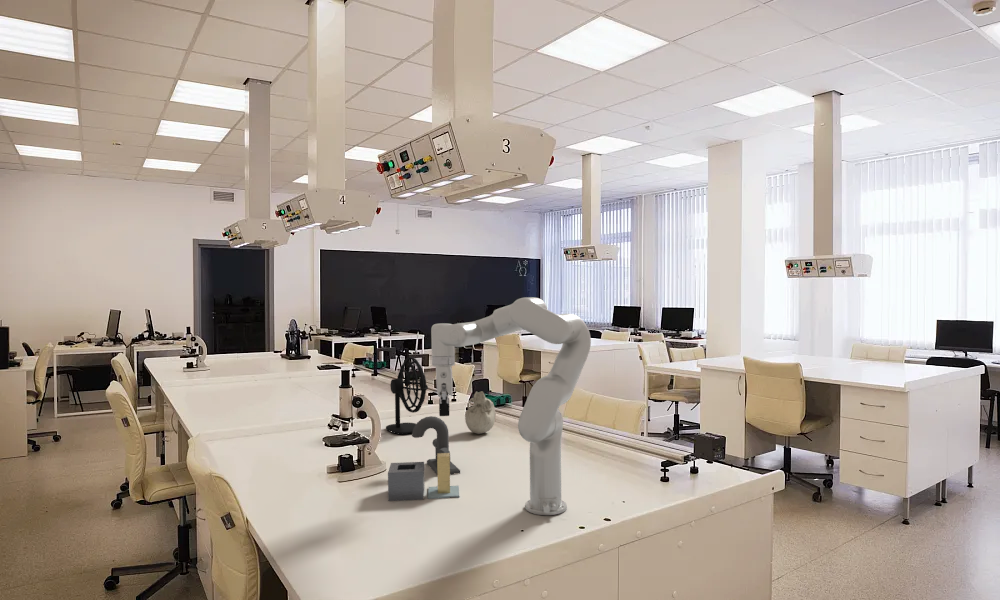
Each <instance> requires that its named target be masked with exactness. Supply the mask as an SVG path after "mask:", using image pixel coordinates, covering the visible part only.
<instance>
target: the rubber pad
mask: <svg viewBox="0 0 1000 600" xmlns="http://www.w3.org/2000/svg"><path fill="white" fill-rule="evenodd" d="M427 492H428V493H427V499H428V500H430V499H432V500H433V499H450V497H457V498H460V485H450V493H438V485H437V486H428V491H427Z"/></svg>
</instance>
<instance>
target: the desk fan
mask: <svg viewBox="0 0 1000 600" xmlns="http://www.w3.org/2000/svg"><path fill="white" fill-rule="evenodd" d="M410 360H412V361H411V362H410ZM413 364H415V365H416V366H417V368H415V367H414V365H413ZM406 365H408V366H407V369H406V370H405V368H406ZM410 369H411V370H412V379H410V376H409V373H410ZM417 371H418V373H419V376H420V378H419V380H418V375H417ZM404 373H405V380H404ZM411 380H412V381H411ZM404 384H405V386H404ZM411 385H412V387H411ZM389 386H390V391H391V394H394V401H395V402H394V404H395V405H394V407H395V408H394V412H395V417H394V418H395V420H394V421H395V423H392V424H388V425H386V426H385V430H386V429H388V430H390V431H392V432H395V433H399V434H398V435H408V434H407V433H412V432H413V429H414V427H415V425H416V424H417V422H416V423H415V422H401V401H402V404H403V406H404V408H405V409H406V411H408V412H409V413H418V412H419V411H420V410H421V408H422V406H423V404H424V403H425V402H424V401H425V399H426V393H427V390H428V388H429V385H427V378H426V376H425V373H424V369H423V367H422V366H421V364H420V363H419V360H417V358H415V357H413V356H410V357H407V358H405V359H404V361H403V363H402V364H401V366H400V369H399V371H398V374H397V378H393V379H391V380H390V385H389ZM405 390H406V395H407V398H406V396H405ZM411 391H413V393H414V401H413V400H412V398H411ZM419 391H420V397H419ZM417 400H419V401H417ZM408 401H409V403H410V405H411V406H410V405H409V404H408ZM417 402H418V403H417ZM416 403H417V404H416ZM412 408H414V409H412ZM388 430H387V431H388ZM390 431H389V432H390ZM392 432H391V433H392Z"/></svg>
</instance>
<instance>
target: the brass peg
mask: <svg viewBox="0 0 1000 600" xmlns="http://www.w3.org/2000/svg"><path fill="white" fill-rule="evenodd" d="M450 461H451V452H450V453H437V473H438V475H437V486H438V493H450V486H451V479H450V478H451V475H450Z"/></svg>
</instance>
